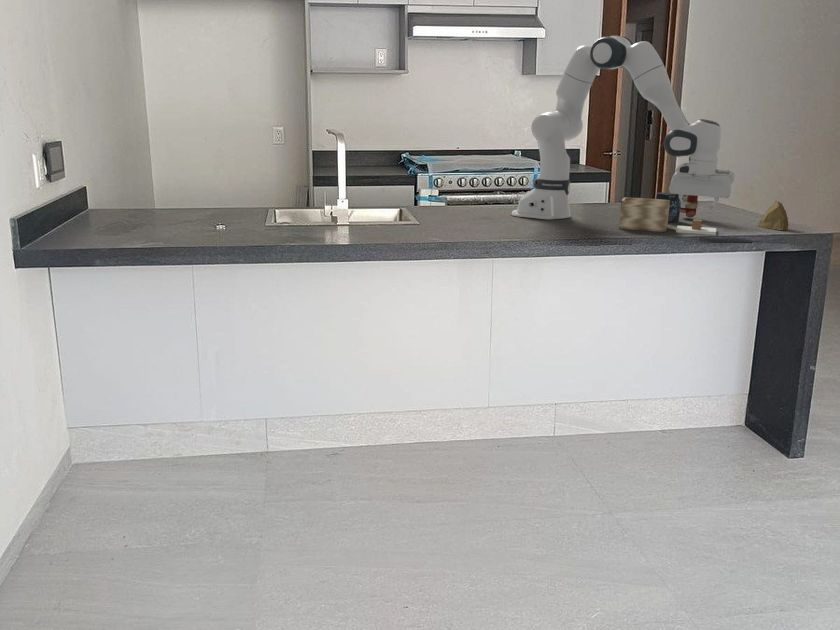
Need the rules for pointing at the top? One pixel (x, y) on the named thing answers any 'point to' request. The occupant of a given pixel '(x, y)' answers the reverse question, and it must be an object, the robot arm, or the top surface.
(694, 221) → the lid
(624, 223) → the birch box
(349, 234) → the top surface
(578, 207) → the top surface
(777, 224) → the rock
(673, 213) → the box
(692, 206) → the snake in a can
